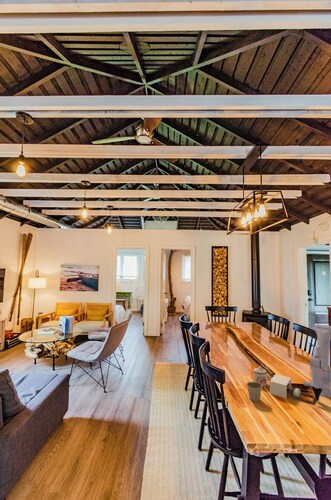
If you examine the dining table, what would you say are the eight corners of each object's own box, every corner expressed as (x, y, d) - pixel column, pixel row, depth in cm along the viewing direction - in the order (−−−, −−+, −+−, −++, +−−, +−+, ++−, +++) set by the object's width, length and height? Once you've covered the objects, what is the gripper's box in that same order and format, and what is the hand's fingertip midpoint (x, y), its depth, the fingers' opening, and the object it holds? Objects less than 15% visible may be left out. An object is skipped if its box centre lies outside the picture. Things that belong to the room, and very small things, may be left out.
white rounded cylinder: (294, 393, 172) (294, 387, 172) (300, 394, 170) (300, 389, 170) (293, 395, 169) (293, 389, 169) (299, 397, 167) (299, 391, 167)
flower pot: (243, 397, 166) (243, 383, 166) (255, 394, 169) (255, 380, 170) (253, 404, 157) (253, 389, 158) (265, 401, 161) (265, 386, 161)
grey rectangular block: (275, 385, 183) (275, 374, 183) (291, 390, 177) (291, 377, 177) (269, 393, 171) (269, 381, 171) (286, 398, 165) (286, 385, 166)
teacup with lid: (255, 386, 182) (255, 369, 182) (251, 380, 191) (251, 364, 191) (273, 386, 181) (272, 369, 182) (268, 381, 190) (268, 364, 191)
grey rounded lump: (293, 395, 169) (293, 389, 169) (300, 397, 167) (300, 391, 167) (292, 397, 166) (292, 391, 166) (298, 399, 164) (298, 393, 164)
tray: (291, 392, 175) (291, 389, 175) (315, 399, 166) (315, 395, 166) (288, 398, 166) (288, 394, 167) (313, 405, 158) (313, 401, 158)
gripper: (302, 376, 163) (303, 399, 162) (330, 382, 155) (330, 406, 154) (304, 372, 169) (305, 394, 168) (331, 378, 160) (331, 401, 159)
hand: (317, 400), depth 161 cm, fingers closed
